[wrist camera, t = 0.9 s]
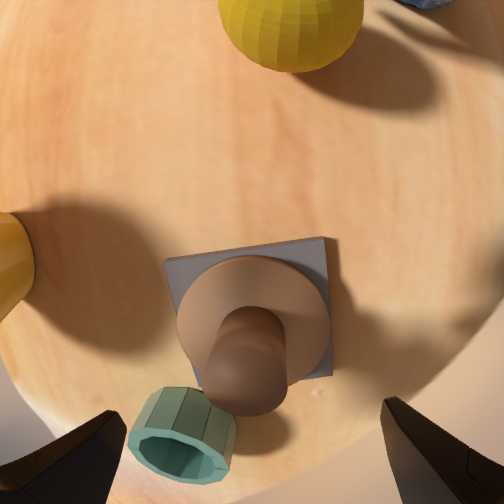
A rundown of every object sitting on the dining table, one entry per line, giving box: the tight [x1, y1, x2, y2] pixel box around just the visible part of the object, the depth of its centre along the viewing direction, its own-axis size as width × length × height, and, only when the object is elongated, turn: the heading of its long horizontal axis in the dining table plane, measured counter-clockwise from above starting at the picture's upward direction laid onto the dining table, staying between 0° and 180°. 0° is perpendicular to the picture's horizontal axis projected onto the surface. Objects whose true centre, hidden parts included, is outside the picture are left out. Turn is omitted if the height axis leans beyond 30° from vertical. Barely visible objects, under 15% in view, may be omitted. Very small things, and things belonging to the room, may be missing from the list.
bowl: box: [127, 387, 237, 485], centre depth 16 cm, size 7×7×4 cm
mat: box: [163, 236, 333, 387], centre depth 15 cm, size 8×8×1 cm
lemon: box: [218, 0, 364, 73], centre depth 8 cm, size 6×6×8 cm
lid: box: [177, 255, 330, 416], centre depth 12 cm, size 8×8×5 cm
